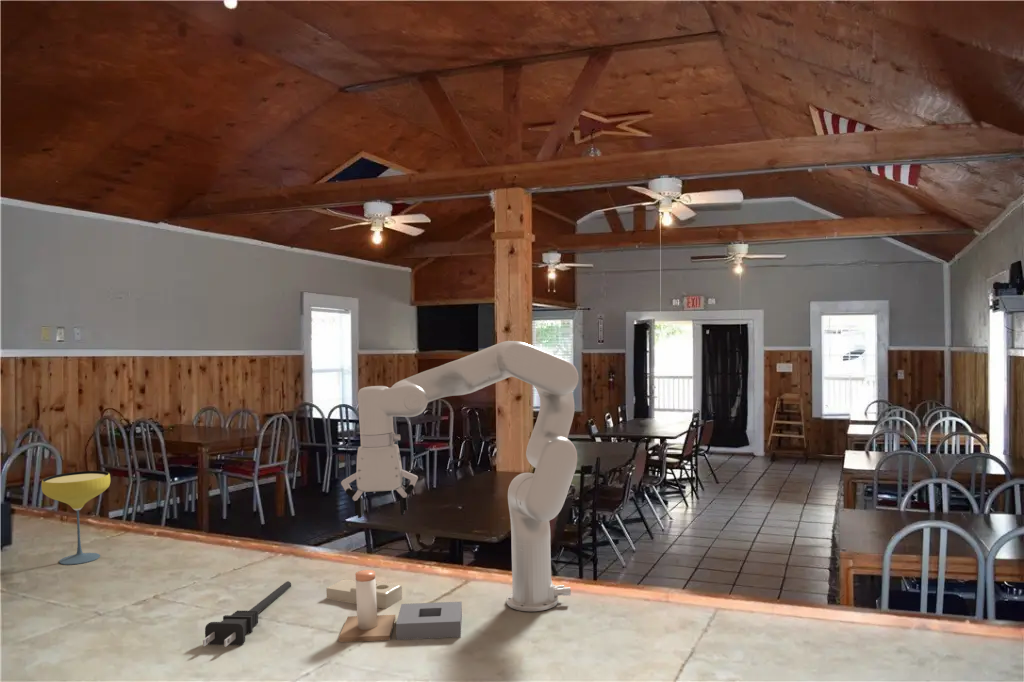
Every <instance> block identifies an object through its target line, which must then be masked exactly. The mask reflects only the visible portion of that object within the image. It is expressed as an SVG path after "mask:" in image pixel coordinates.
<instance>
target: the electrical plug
mask: <svg viewBox="0 0 1024 682" xmlns="http://www.w3.org/2000/svg"><path fill="white" fill-rule="evenodd" d="M291 587H292V583H291V581H289V580H288V581H287V580H286V581H285V582H284V583H283V584H281V585H280V586H279V587H277V588H276V589H275V590H274V591H273V592H271V593H269V594H268V595H267V596H266V597H265V598H263V599H262V600H261V601H260V602H258V603H257V604H256V605H254V606H253V607H252V608H251V609H249V610H236V611H234V612H233V613H232V614H231V615H228V614H227V615H223V616H222V620H221V621H211V622H208V623H207V624H206V626H205V628H204V635H205V636H204V638H203V639H202V647H206V646H207V645H208V646H211V645H213V646H224V647H225V648H227V646H243V645H244V644H245V642H246V635H247V634H252V633H253V629H254V627H256V626H257V624H259V613H261V611H263V610H264V609H265V608H266V607H268V606H270V604H271V603H273V602H274V601H275V600H276V599H278V598H279V597H280V596H282V594H284V593H285V592H286V591H288V589H290V588H291Z"/></svg>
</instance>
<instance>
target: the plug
mask: <svg viewBox="0 0 1024 682" xmlns="http://www.w3.org/2000/svg"><path fill="white" fill-rule="evenodd" d="M355 581H356V599H357V604H356V616H357V622H358V628H359V629H372V628H375V627H376V626H377V625H378V624H377V615H378V607H377V601H376V581H377V580H376V570H373V569H363V570H359V571H357V572H355Z"/></svg>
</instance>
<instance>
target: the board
mask: <svg viewBox="0 0 1024 682" xmlns="http://www.w3.org/2000/svg"><path fill="white" fill-rule="evenodd" d="M394 622H396V614H377V624H378V625H377V626H376V627H375V628H372V629H359V628H358V622H357V615H355V616H347V618H346V620H345V622H344V625H343V627H342V629H341V632H340V633H339V635H338V642H339V643H345V642H346V643H347V642H348V643H349V642H371V641H373V642H374V641H375V642H376V641H390V640H391V638H392V637H391V636H392V633H393V629H394V626H395V623H394Z"/></svg>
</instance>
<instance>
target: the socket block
mask: <svg viewBox="0 0 1024 682" xmlns="http://www.w3.org/2000/svg"><path fill="white" fill-rule="evenodd" d="M462 603H463V602H462V601H446V602H445V601H443V602H442V601H441V602H417V603H416V602H415V603H401V605H400V608H399V612H398V616H397V619H396V623H395V627H396V630H395V631H396V633H395V635H396V640H397V641H399V640H401V641H402V640H420V639H421V640H424V639H425V640H426V639H444V638H443V637H452V638H461V637H462V624H463V621H462V619H463V609H462V607H463V604H462ZM439 637H440V638H439Z"/></svg>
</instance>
